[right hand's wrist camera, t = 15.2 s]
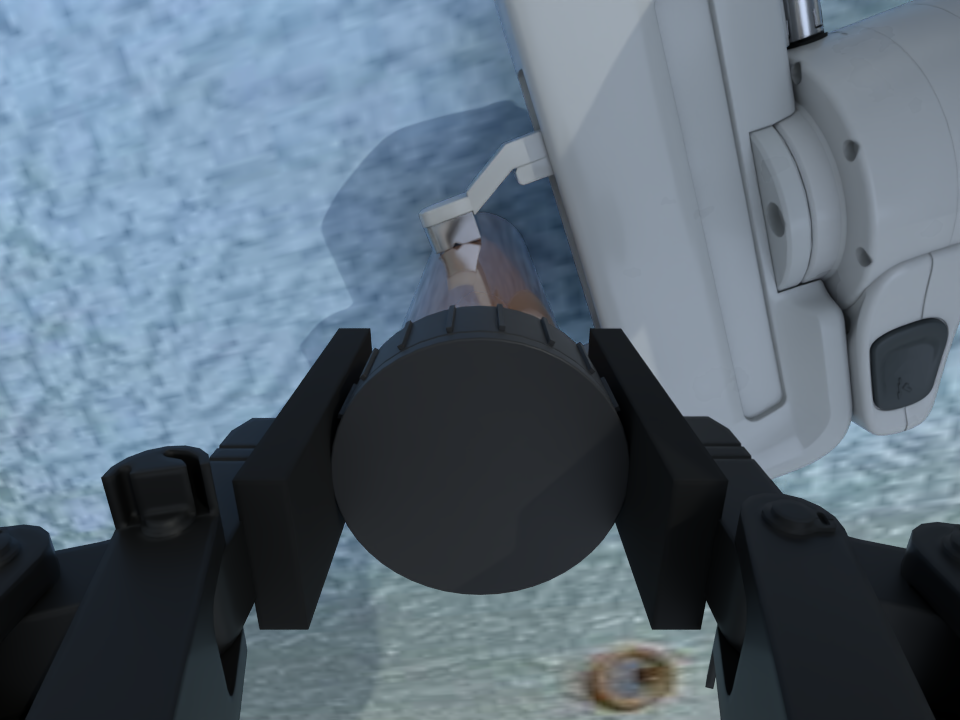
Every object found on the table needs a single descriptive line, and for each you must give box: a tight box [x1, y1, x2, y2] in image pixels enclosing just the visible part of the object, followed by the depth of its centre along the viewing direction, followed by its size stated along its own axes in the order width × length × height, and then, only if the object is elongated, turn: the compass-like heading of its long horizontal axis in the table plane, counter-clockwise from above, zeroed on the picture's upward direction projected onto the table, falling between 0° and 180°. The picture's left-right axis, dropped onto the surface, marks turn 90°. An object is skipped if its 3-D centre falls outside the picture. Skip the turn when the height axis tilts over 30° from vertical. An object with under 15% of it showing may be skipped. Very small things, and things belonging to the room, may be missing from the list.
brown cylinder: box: [401, 212, 560, 330], centre depth 19 cm, size 5×5×18 cm
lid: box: [331, 304, 630, 595], centre depth 11 cm, size 6×6×2 cm
